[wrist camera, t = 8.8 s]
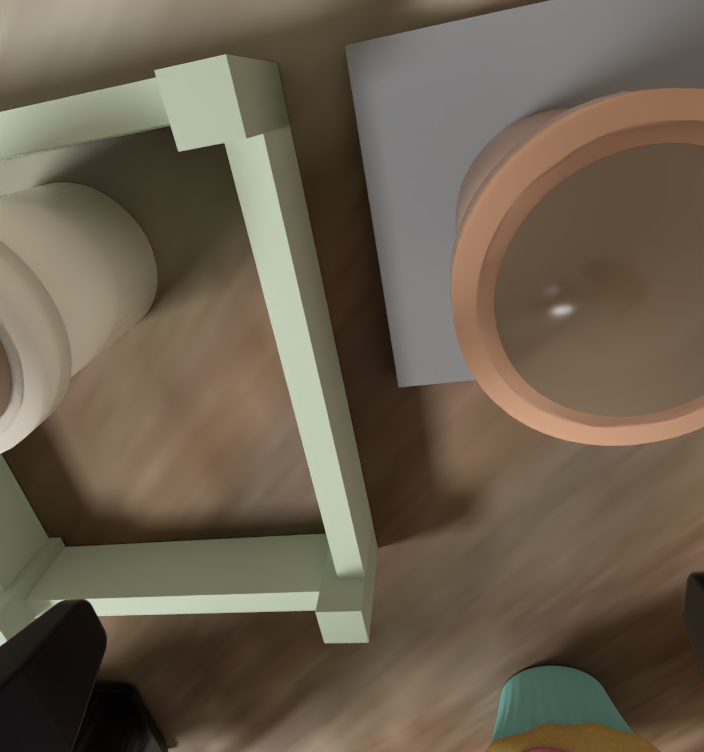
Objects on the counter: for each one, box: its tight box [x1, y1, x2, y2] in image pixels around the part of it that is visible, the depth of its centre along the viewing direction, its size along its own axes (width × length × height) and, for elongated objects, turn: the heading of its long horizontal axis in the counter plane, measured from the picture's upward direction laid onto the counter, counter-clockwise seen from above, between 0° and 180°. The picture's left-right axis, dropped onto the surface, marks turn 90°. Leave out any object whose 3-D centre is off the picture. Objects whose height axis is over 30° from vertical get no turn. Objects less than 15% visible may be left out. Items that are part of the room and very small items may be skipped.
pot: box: [0, 182, 158, 454], centre depth 15 cm, size 6×6×7 cm
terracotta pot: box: [450, 88, 704, 446], centre depth 12 cm, size 6×6×7 cm
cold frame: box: [0, 54, 378, 646], centre depth 18 cm, size 18×16×4 cm
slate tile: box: [345, 0, 704, 387], centre depth 16 cm, size 10×10×1 cm
